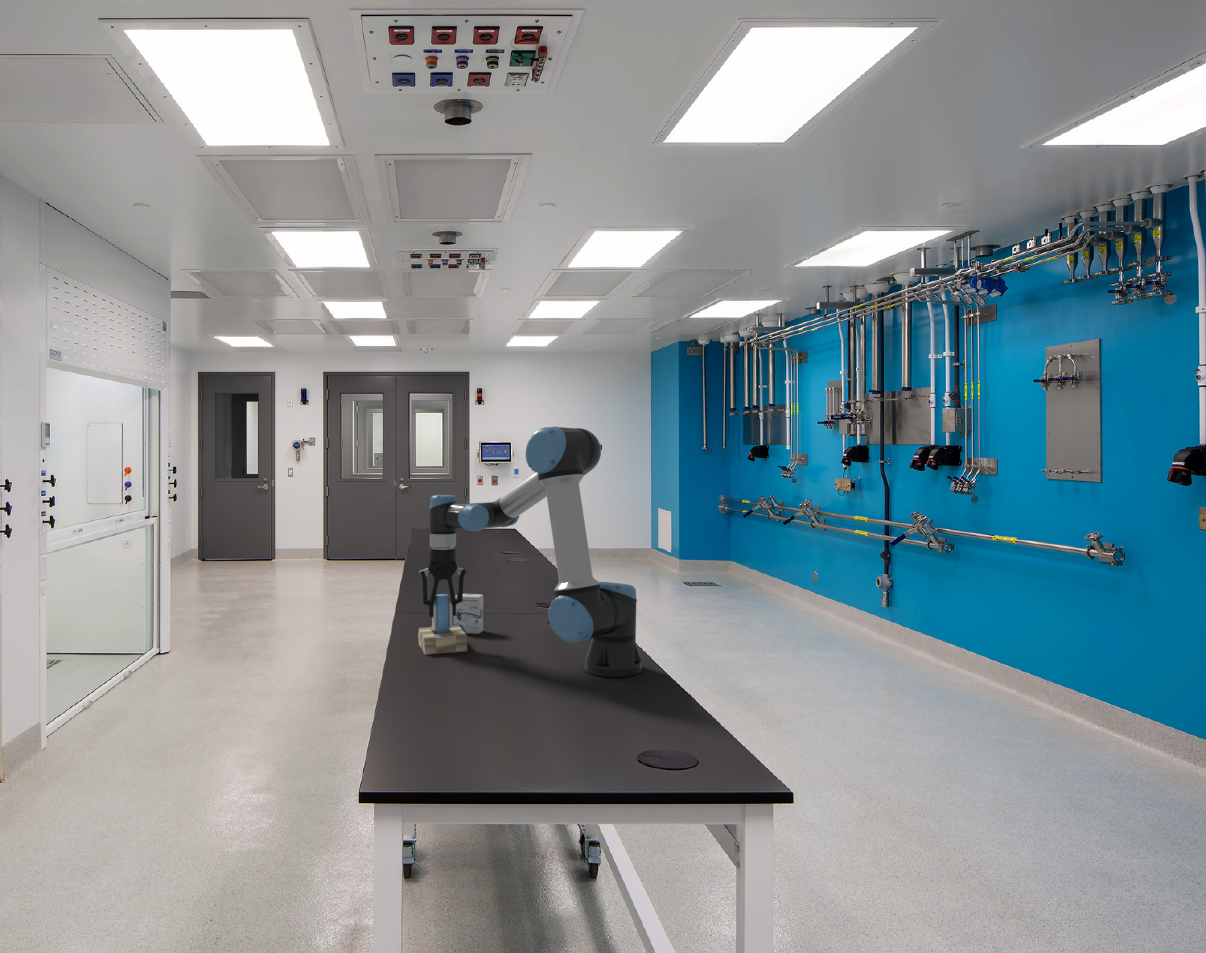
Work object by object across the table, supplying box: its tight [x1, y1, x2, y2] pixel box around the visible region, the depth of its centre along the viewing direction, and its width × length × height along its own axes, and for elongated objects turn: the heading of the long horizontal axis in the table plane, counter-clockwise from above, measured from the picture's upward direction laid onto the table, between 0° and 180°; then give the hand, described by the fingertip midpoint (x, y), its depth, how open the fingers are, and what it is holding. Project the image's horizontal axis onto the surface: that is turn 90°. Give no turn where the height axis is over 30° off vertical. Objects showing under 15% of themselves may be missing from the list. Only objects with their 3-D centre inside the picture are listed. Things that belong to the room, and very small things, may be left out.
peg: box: [434, 593, 450, 634], centre depth 227 cm, size 4×4×13 cm
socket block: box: [417, 625, 468, 655], centre depth 227 cm, size 14×12×4 cm
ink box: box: [453, 593, 484, 635], centre depth 247 cm, size 9×5×12 cm, turn 84°
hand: (442, 627), depth 227 cm, fingers closed on peg, 4 cm apart
